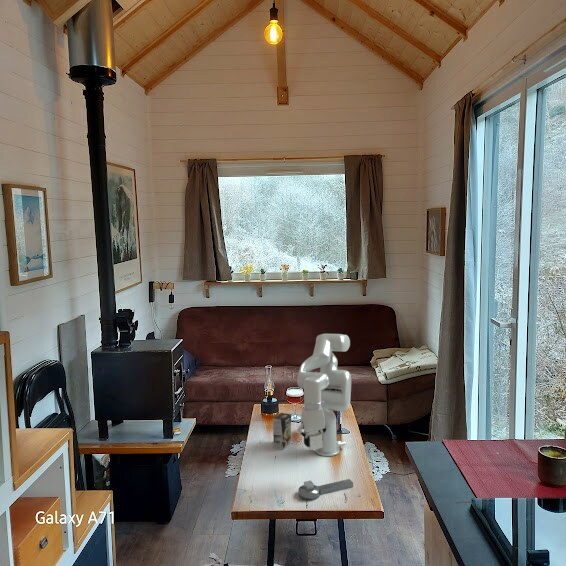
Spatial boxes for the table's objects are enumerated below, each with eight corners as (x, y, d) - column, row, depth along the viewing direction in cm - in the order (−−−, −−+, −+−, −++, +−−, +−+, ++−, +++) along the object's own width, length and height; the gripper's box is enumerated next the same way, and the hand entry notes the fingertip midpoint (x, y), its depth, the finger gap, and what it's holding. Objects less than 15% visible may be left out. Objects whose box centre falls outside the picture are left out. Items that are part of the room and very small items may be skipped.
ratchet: (346, 480, 239) (346, 468, 239) (356, 489, 231) (356, 477, 230) (295, 492, 230) (295, 480, 230) (303, 502, 222) (303, 490, 221)
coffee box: (283, 450, 272) (283, 419, 270) (273, 447, 276) (272, 417, 274) (292, 443, 280) (291, 413, 278) (281, 441, 283) (281, 412, 281)
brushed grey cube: (316, 442, 241) (316, 429, 240) (322, 447, 235) (322, 434, 235) (304, 444, 239) (304, 432, 238) (310, 450, 233) (310, 437, 233)
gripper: (326, 399, 241) (327, 437, 244) (291, 405, 235) (292, 444, 237) (334, 405, 235) (334, 444, 237) (298, 411, 228) (299, 451, 230)
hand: (313, 443), depth 237 cm, fingers closed on brushed grey cube, 6 cm apart
